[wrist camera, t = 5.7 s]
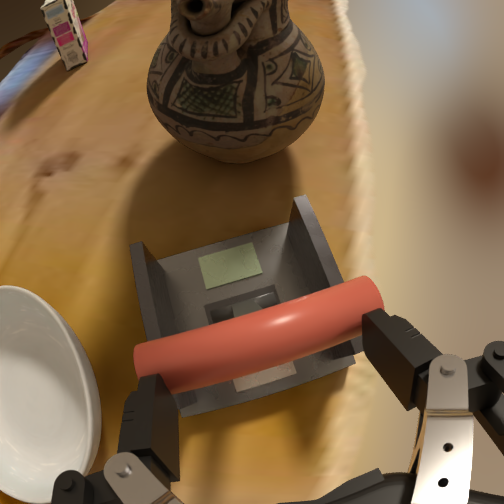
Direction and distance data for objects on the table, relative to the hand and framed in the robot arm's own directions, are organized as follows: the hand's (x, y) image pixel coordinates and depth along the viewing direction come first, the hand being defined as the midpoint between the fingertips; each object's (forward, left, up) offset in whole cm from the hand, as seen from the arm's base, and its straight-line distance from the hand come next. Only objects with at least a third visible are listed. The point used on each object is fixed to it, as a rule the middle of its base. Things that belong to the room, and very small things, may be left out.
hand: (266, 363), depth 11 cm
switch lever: (0, +5, -12) cm, 13 cm away
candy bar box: (-19, +64, -16) cm, 68 cm away
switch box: (0, +5, -16) cm, 17 cm away
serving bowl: (-23, +2, -16) cm, 28 cm away
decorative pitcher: (+6, +26, -16) cm, 31 cm away
